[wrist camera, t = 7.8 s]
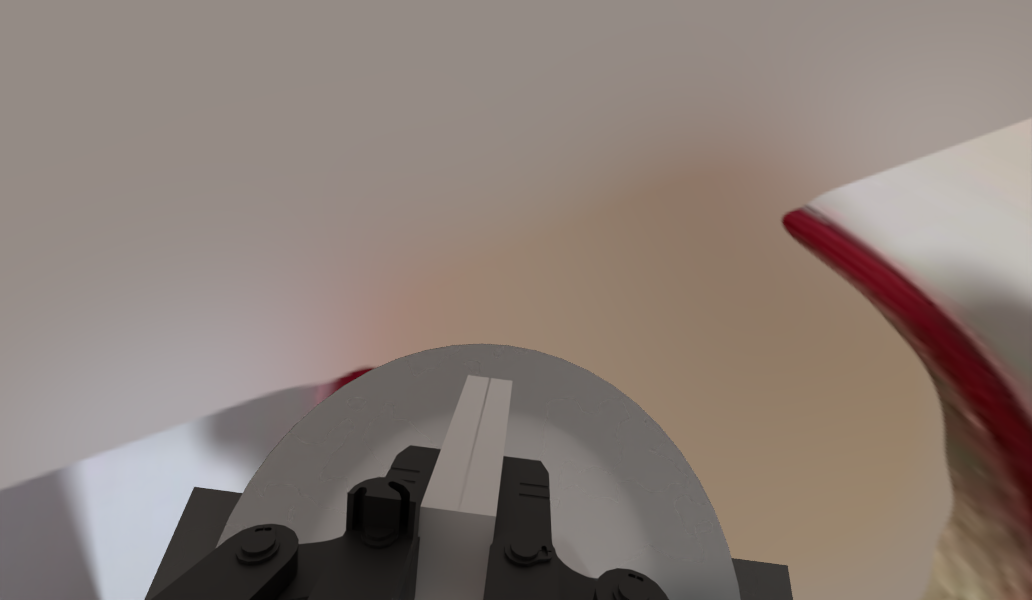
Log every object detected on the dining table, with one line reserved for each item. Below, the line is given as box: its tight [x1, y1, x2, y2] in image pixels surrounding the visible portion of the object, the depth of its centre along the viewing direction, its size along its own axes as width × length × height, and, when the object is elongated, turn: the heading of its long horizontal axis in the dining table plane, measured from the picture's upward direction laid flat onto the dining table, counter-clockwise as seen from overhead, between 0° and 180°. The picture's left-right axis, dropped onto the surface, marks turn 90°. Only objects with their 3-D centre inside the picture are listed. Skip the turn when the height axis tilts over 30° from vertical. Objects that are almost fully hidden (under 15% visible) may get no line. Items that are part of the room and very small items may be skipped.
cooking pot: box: [145, 487, 793, 600], centre depth 20 cm, size 22×15×11 cm
